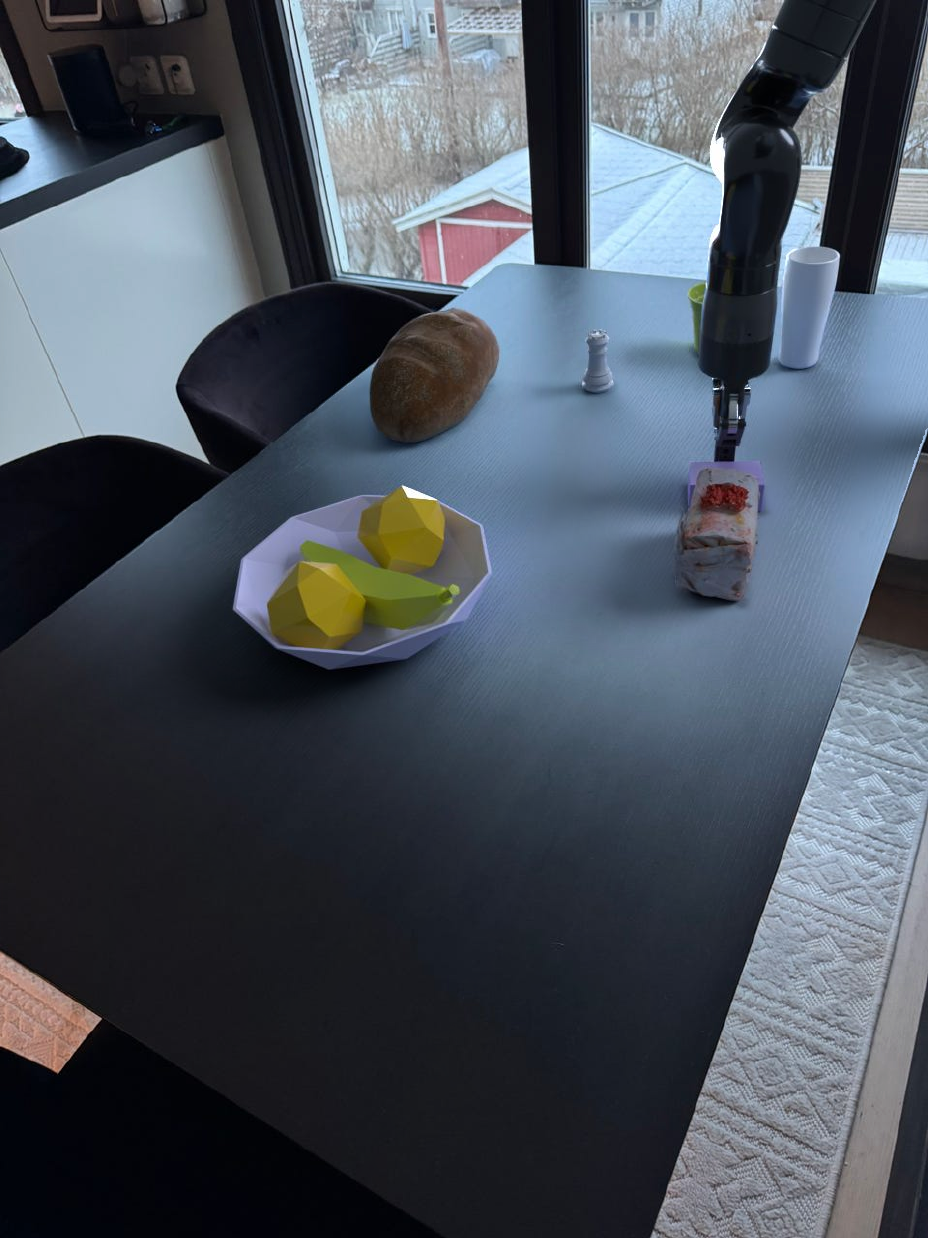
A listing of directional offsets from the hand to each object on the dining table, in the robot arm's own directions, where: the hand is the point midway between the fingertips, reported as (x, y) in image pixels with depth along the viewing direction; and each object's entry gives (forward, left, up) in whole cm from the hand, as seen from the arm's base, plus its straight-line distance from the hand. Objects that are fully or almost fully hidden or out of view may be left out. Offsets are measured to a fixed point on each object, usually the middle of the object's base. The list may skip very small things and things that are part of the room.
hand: (723, 467), depth 104 cm
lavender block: (0, +4, -2) cm, 5 cm away
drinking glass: (-12, -31, -2) cm, 33 cm away
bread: (+39, -23, -2) cm, 45 cm away
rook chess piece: (+16, -25, -2) cm, 29 cm away
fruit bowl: (+37, +26, -2) cm, 45 cm away
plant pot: (-1, -36, -2) cm, 36 cm away
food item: (+2, +17, -2) cm, 17 cm away
